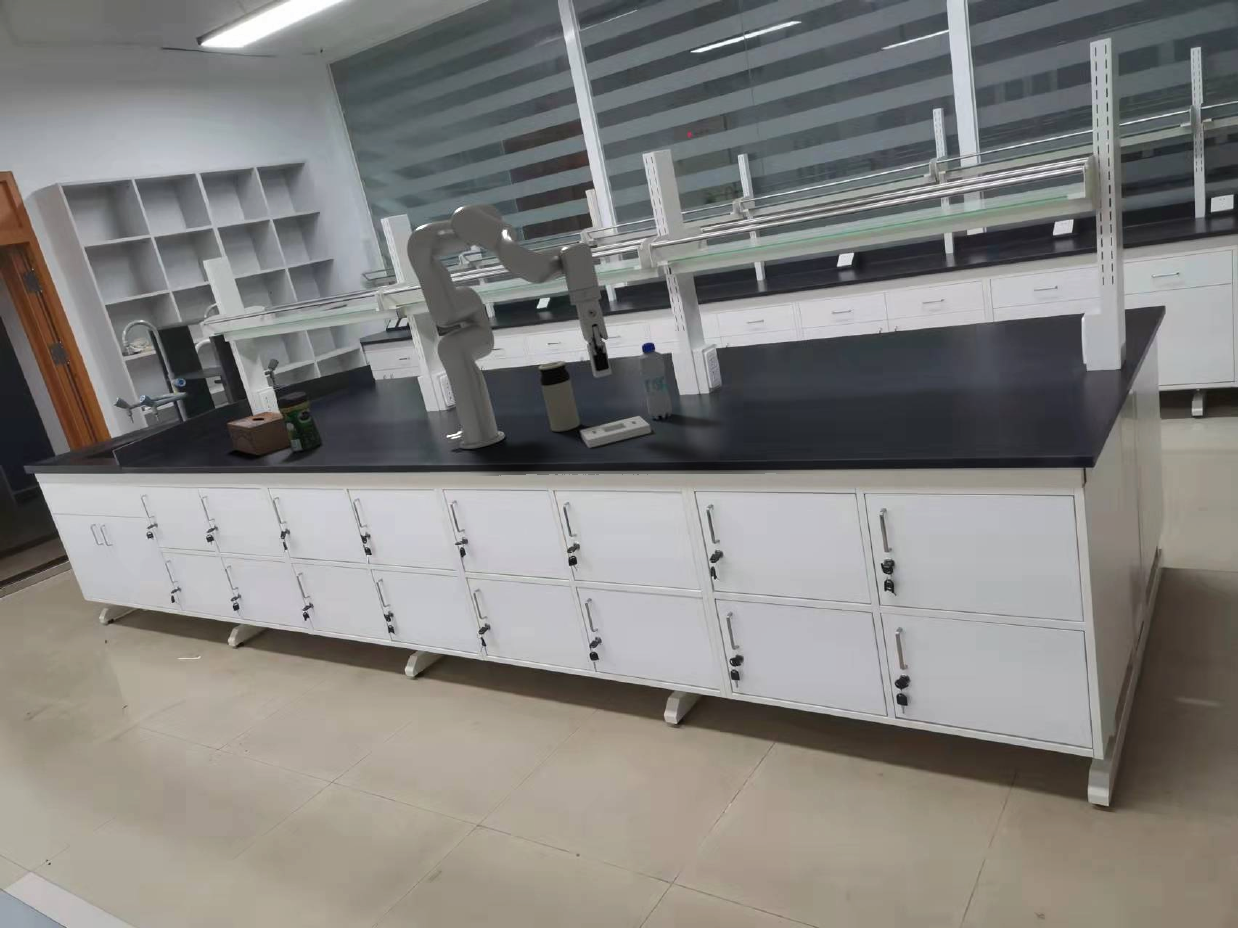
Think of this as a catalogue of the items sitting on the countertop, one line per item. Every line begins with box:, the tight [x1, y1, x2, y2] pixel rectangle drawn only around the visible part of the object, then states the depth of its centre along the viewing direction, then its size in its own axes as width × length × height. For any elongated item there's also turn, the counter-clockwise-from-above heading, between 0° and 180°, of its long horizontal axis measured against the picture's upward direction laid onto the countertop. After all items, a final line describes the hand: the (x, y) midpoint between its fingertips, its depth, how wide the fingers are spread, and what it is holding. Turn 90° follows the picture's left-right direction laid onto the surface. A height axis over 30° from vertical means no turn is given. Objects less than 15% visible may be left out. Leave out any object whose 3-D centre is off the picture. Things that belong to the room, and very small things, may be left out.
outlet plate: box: [579, 415, 652, 449], centre depth 224 cm, size 16×12×2 cm
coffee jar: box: [276, 391, 323, 453], centre depth 286 cm, size 10×8×19 cm
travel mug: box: [537, 360, 581, 433], centre depth 240 cm, size 8×8×18 cm
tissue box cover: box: [226, 411, 290, 456], centre depth 306 cm, size 26×14×10 cm, turn 41°
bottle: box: [638, 342, 673, 420], centre depth 230 cm, size 7×7×20 cm
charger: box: [586, 341, 613, 379], centre depth 218 cm, size 4×4×8 cm
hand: (600, 368), depth 219 cm, fingers closed on charger, 4 cm apart
